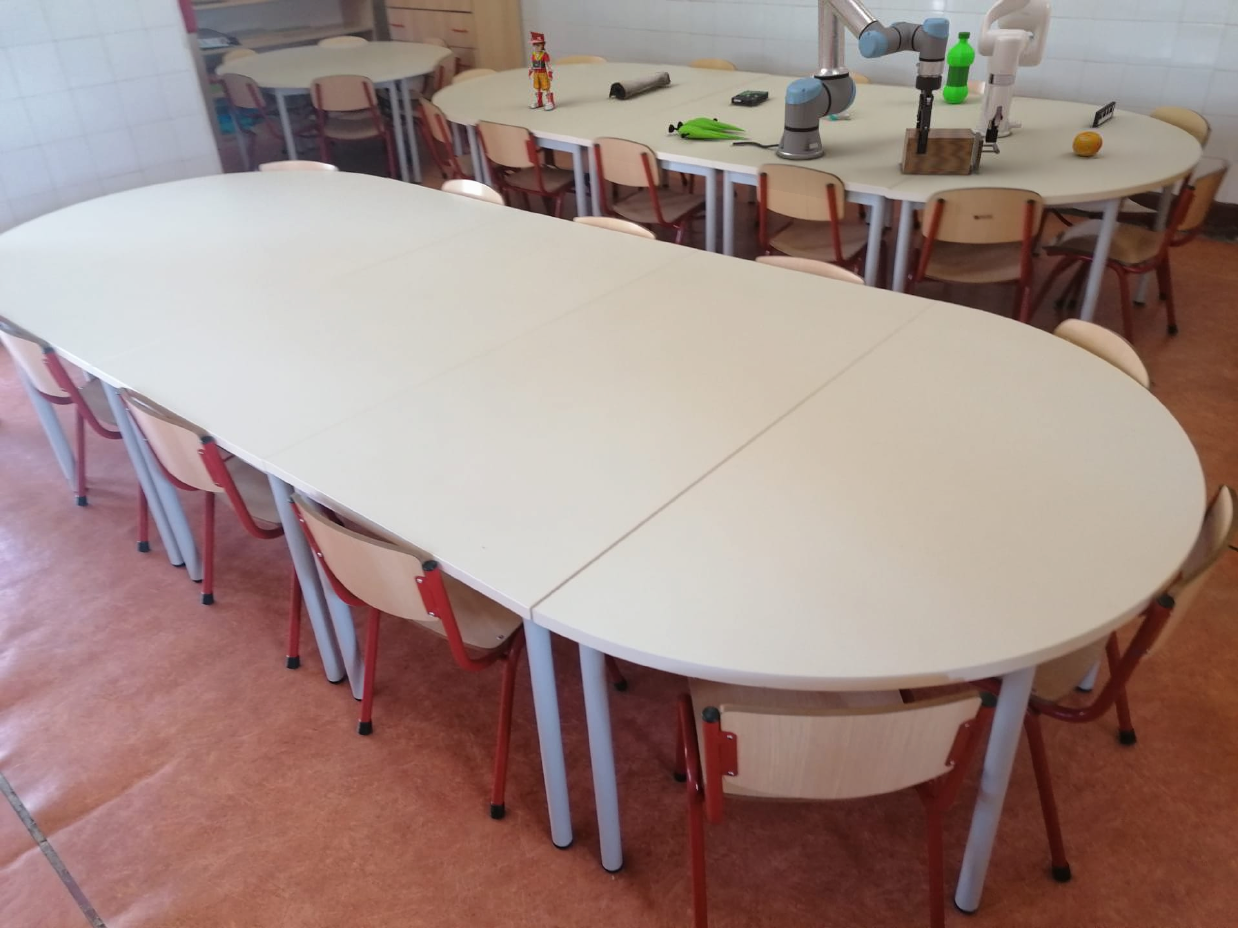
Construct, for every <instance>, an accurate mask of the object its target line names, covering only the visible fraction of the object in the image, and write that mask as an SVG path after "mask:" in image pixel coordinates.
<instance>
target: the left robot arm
mask: <svg viewBox="0 0 1238 928" xmlns="http://www.w3.org/2000/svg"><path fill="white" fill-rule="evenodd" d="M817 9H818V10H817V25H818V26H817V33H818V34H817V35H818V36H817V38H818V39H817V41H818V42H817V44H818V45H817V48H818V49H817V50H818V52H817V53H818V55H817V56H818V58H817V60H818V65H817V67H818V68H817V70H816V71H815V72H814V73H813V77H805V78H799V79H796V80H794V81H792V82H790V83H789V84H788V85H787V86H786V90H785V96H784V101H785V102H784V124H783V133H782V135H781V138H780V141H779V143H776V144H775V143H774V144H768V145H767V144H761V143H760V142H756V141H737V142H732V146H739V145H740V146H741V145H754V146H758V147H760V148H763V149H770V148H777V155H778V156H779V157H781V158H783V159H788V160H794V161H798V160H799V161H800V160H801V161H802V160H804V161H805V160H812V159H816V158H819V157H821V156H822V155H823V153H824V152H823V150H824V147H823V142H822V137H821V134H820V119H823V118H825V117H829V115H833V114H838V113H841V112H845V111H847V110H848V109H850V108H851V106H852V105H853V103H854V102H855V99H856V96H857V85H856V82H855V81H854V79H853V77H851V76H850V69H848V68H847V67H846V66H845V65H846V64H845V63H846V61H845V59H846V58H845V57H846V54H845V53H846V48H845V46H846V29H847V30H848V31H849V32H850V33H851V34H852V35H853V36H854V37H855V38H856V39H857V41H858V50H859V53H860V55H861V56H862V57H864V58H865V59H877V58H881V57H884V56H888V55H892V54H897V53H900V52H901V53H902V52H905V51H908V52H915V53H919V55H918V62H917V63H916V64H915V66H916V68H917V72H916V73H917V74H918V75H916V77H915V89H916V90H919V91H920V93H919V97H918V98H919V99H918V106H917V113H916V125H915V128H920V130H918V133H919V138H918V145H917V153H916V154H926V148H927V140H928V133H929V132H930V128H931V122H932V121H931V120H932V113H933V112H932V111H933V104H934V103H933V102H934V100H935V96H934V93H933V91H938V90H940V89H941V87H942V82H943V76H942V75H943V74H944V69H945V63H946V54H947V53H946V52H947V46H948V40H949V37H950V33H949V32H950V20H949V19H948V18H946V17H928V18H925V20H924V21H923V23H922V24H920V23H912V22H907V21H894V22H893V23H891V25H889V26H888V27H887V26H886V27H885V26H884V25H883V24H882V22H880V21H879V20H878V19H877V18H876V16H875V15H873V13H872V12H871V11H870V10H869V9H868V8H867V7H866V6H865V5H864V3H862V1H860V0H817Z"/></svg>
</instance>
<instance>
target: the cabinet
mask: <svg viewBox="0 0 1238 928" xmlns="http://www.w3.org/2000/svg"><path fill="white" fill-rule="evenodd" d="M918 130H920V128H916V127H915V128H911V127H910V128H909V127H908V128H907V127H906V128H905V134H904V142H903V150H902V159H901V169H902V173H903V174H904V175H969V174H970V169H971V164H972V163H971V159H972V153H973V152H972V151H973V147H974V146H973V145H974V141H975V134H974V133H973V132H972V131H973V130H972V128H971V127H970V128H969V127H968V128H966V127H965V128H963V127H962V128H961V127H959V128H955V127H954V128H953V127H948V128H947V127H946V128H945V127H944V128H941V127H939V128H938V127H935V128H933V127H932V128H931V127H930V132H929V133H928V140H927V148H926V154H916V153H917V145H918V138H919V133H918Z"/></svg>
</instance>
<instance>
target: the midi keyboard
mask: <svg viewBox="0 0 1238 928" xmlns="http://www.w3.org/2000/svg"><path fill="white" fill-rule="evenodd" d="M1116 103H1117V102H1116V101H1111V102H1109V103H1108V104H1106V105H1104V106H1103V107H1101V108H1100V109H1098V110H1097V111H1096V112H1095V114H1094V118H1093V122H1092V127H1094V128H1096V127H1098V126H1099V125H1100V124H1102V123H1104V122H1105V121H1107V120H1108V119H1109V118H1111V117H1113V115H1114V111H1115V108H1116Z"/></svg>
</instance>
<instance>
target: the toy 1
mask: <svg viewBox="0 0 1238 928" xmlns="http://www.w3.org/2000/svg"><path fill="white" fill-rule="evenodd" d="M529 33H530V35H531V36H528V37H527V38H528V39H529V40H528V41H527V43H529V44H530V43H531V44H532V48H533V50H534V51H533V52H532V55H531V58H530V59H531V63H530V66H528V74H527V75H528V76H527V77H528V79H529V80H531V75H532V74H533V84H532V85H533V86H532V87H533V88H534V89H535V90H536V92H534V95H535V97H536V100H535V101H533V102H531V105H530V108H531V109H535V108H538V107H542V106H544V101H543V100H544V99H543V95H544V92H546V94H545V97H546V99H547V103H546V104H545V106H544V110H546V111H549V110H553V109H554V107H555V106H556V105H555V99H554V92H551V91H550V90H551V86H552V84H551V82H552V81H553V80H554V77H553V73H554V71H555V70H554V69H552V68H551V63H550V61H551V59H550V58H551V57H550V54H549V53H548V52H547V50H546V48H545V46H546V44H547V41H545V35H544V33H543V32H542V33H539V32H535V31H529Z"/></svg>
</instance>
